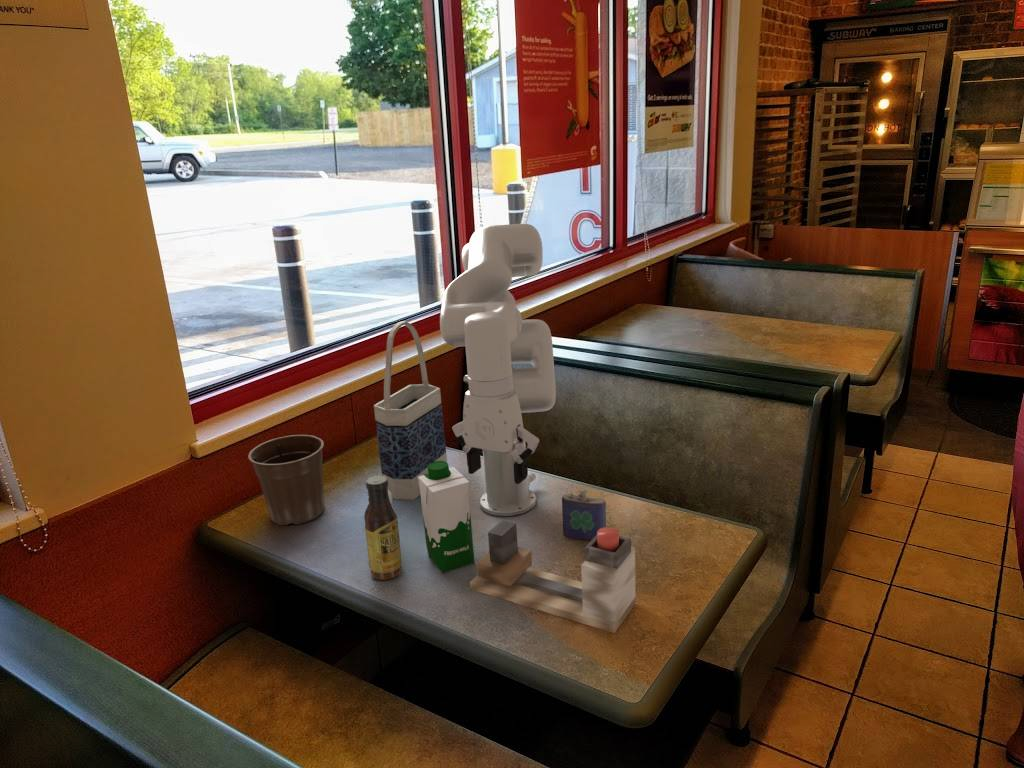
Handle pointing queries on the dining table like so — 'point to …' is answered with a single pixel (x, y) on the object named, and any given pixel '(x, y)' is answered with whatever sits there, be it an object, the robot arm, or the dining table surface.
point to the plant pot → (291, 477)
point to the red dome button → (608, 539)
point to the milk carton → (446, 517)
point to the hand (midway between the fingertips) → (497, 475)
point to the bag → (408, 427)
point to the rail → (578, 588)
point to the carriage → (504, 555)
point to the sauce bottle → (382, 531)
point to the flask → (582, 516)
